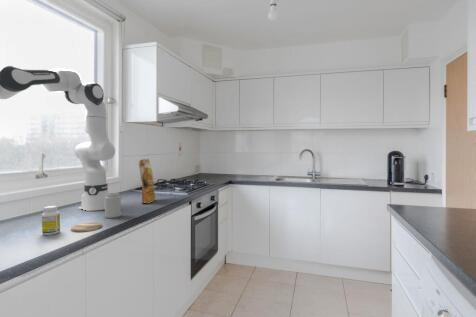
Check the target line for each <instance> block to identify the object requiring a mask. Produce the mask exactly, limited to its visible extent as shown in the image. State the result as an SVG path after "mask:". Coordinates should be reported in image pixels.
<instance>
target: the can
mask: <svg viewBox="0 0 476 317" xmlns="http://www.w3.org/2000/svg"><path fill="white" fill-rule="evenodd" d="M121 199H122V197H121V195H120V193H119V192H111V193H110V192H109V194H106V196H105V209H104V216H105V217H106V219H116V218H119V217H120V216H121V215H122V204H121V202H122V201H121Z"/></svg>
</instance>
